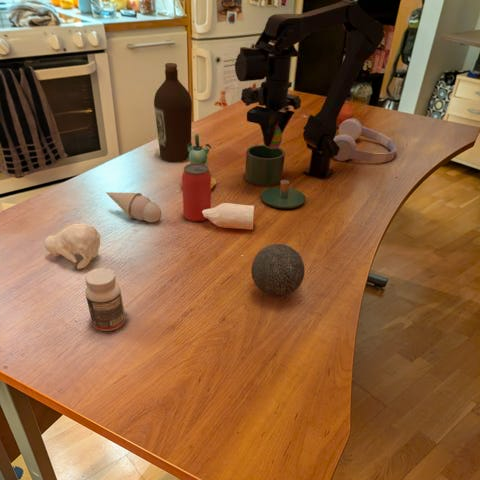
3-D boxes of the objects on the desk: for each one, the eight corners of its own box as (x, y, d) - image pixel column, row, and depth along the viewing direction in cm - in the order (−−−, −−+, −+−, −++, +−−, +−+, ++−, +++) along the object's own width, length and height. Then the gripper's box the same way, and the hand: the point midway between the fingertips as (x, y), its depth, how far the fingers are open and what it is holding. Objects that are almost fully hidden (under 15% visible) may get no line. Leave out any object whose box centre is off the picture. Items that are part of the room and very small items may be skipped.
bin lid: (274, 187, 126) (276, 168, 123) (312, 198, 122) (314, 179, 118) (253, 202, 119) (254, 183, 115) (292, 215, 114) (294, 195, 111)
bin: (257, 167, 136) (258, 142, 131) (288, 176, 132) (291, 150, 127) (238, 179, 129) (239, 153, 124) (270, 189, 125) (273, 162, 120)
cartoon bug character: (171, 200, 118) (168, 139, 109) (188, 178, 133) (187, 124, 124) (207, 203, 117) (208, 143, 108) (221, 182, 132) (222, 127, 123)
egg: (260, 148, 120) (261, 124, 117) (265, 142, 124) (267, 119, 120) (278, 151, 119) (280, 127, 115) (283, 145, 123) (285, 121, 119)
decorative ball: (263, 313, 85) (267, 268, 78) (241, 282, 92) (244, 239, 85) (310, 301, 88) (318, 257, 82) (286, 272, 95) (291, 230, 88)
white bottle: (204, 218, 111) (203, 196, 108) (253, 221, 111) (255, 200, 107) (200, 230, 107) (200, 208, 103) (251, 234, 106) (253, 212, 103)
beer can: (206, 224, 109) (206, 175, 101) (180, 220, 110) (177, 172, 102) (213, 211, 114) (213, 164, 106) (188, 208, 115) (186, 160, 107)
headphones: (325, 158, 143) (390, 173, 139) (331, 135, 138) (398, 150, 134) (337, 135, 159) (395, 148, 155) (342, 114, 154) (402, 127, 151)
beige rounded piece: (81, 234, 87) (28, 228, 90) (92, 272, 92) (42, 265, 95) (99, 219, 91) (48, 213, 94) (108, 256, 97) (60, 249, 100)
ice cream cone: (106, 207, 113) (159, 230, 110) (94, 201, 107) (149, 225, 104) (116, 184, 113) (169, 206, 110) (104, 176, 107) (159, 200, 104)
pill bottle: (95, 311, 83) (85, 266, 77) (127, 310, 84) (119, 265, 77) (90, 332, 79) (79, 286, 73) (123, 332, 80) (115, 285, 73)
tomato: (353, 130, 164) (357, 107, 158) (327, 129, 164) (331, 105, 158) (348, 122, 171) (353, 99, 166) (324, 121, 171) (327, 98, 165)
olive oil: (187, 148, 145) (183, 58, 129) (198, 160, 138) (196, 67, 122) (154, 151, 142) (146, 60, 125) (163, 164, 134) (156, 69, 118)
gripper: (266, 65, 120) (262, 127, 130) (228, 80, 108) (227, 146, 118) (305, 72, 116) (297, 135, 126) (270, 88, 104) (265, 156, 114)
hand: (272, 142), depth 121 cm, fingers closed on egg, 5 cm apart
